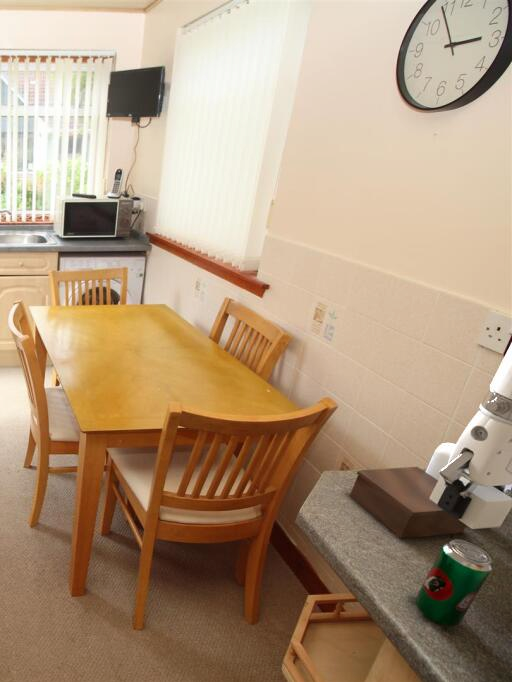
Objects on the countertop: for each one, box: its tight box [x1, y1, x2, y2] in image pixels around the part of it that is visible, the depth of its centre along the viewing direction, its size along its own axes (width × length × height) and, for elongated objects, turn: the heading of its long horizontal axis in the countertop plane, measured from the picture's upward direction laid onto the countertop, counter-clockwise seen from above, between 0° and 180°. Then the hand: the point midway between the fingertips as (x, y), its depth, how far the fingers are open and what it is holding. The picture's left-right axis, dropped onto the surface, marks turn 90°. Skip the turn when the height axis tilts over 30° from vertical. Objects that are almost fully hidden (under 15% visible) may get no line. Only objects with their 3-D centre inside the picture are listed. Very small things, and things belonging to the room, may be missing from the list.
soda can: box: [414, 539, 493, 627], centre depth 67 cm, size 5×5×12 cm
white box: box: [430, 472, 512, 530], centre depth 72 cm, size 5×6×5 cm
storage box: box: [349, 466, 468, 539], centre depth 88 cm, size 13×11×6 cm
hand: (464, 510), depth 72 cm, fingers closed on white box, 5 cm apart
